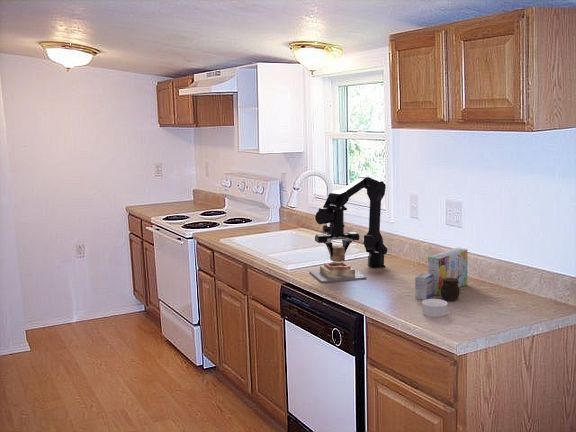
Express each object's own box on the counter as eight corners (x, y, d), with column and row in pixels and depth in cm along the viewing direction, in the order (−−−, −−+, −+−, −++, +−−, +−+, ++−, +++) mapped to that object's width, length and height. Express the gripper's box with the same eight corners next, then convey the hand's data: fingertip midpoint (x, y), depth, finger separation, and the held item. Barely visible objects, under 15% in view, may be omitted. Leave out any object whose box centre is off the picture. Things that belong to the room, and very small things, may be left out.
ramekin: (450, 317, 226) (450, 305, 225) (425, 318, 225) (425, 306, 225) (442, 309, 235) (442, 298, 234) (418, 310, 234) (418, 299, 233)
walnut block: (340, 258, 286) (340, 245, 285) (344, 260, 282) (344, 247, 281) (330, 259, 285) (329, 246, 284) (333, 261, 280) (333, 248, 279)
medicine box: (425, 300, 246) (426, 278, 245) (414, 298, 249) (415, 276, 247) (433, 295, 253) (433, 273, 251) (422, 293, 255) (422, 272, 254)
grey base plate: (351, 269, 296) (351, 267, 295) (366, 279, 278) (366, 277, 278) (309, 272, 291) (309, 271, 290) (321, 283, 273) (321, 281, 273)
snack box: (455, 282, 270) (456, 247, 268) (467, 285, 266) (468, 249, 264) (426, 293, 256) (427, 256, 253) (439, 296, 252) (440, 258, 249)
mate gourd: (437, 297, 250) (438, 271, 249) (456, 296, 251) (457, 271, 249) (443, 302, 243) (444, 276, 242) (463, 301, 244) (464, 275, 242)
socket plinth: (345, 269, 292) (345, 260, 291) (355, 276, 280) (355, 266, 279) (320, 272, 289) (319, 262, 288) (328, 278, 277) (328, 269, 276)
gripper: (350, 217, 291) (351, 251, 293) (310, 219, 286) (311, 254, 289) (359, 221, 280) (360, 256, 283) (318, 224, 275) (319, 259, 278)
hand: (337, 256), depth 283 cm, fingers closed on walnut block, 5 cm apart
